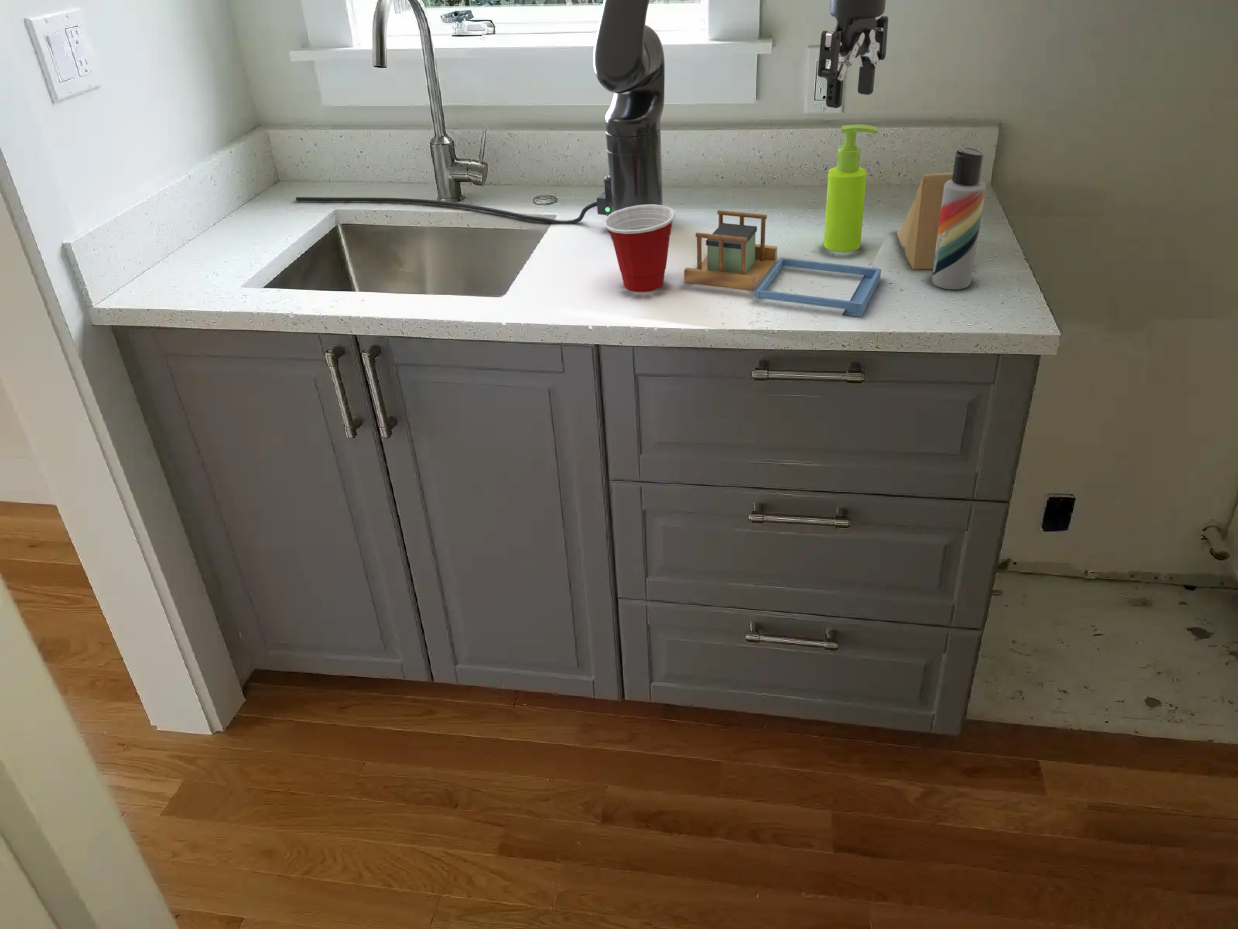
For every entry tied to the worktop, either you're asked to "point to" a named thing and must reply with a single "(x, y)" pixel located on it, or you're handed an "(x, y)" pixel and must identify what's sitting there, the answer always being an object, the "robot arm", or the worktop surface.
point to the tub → (731, 248)
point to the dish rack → (762, 259)
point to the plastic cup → (641, 244)
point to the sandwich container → (923, 221)
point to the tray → (851, 307)
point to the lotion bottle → (959, 222)
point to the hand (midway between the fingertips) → (849, 100)
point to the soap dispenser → (846, 195)
